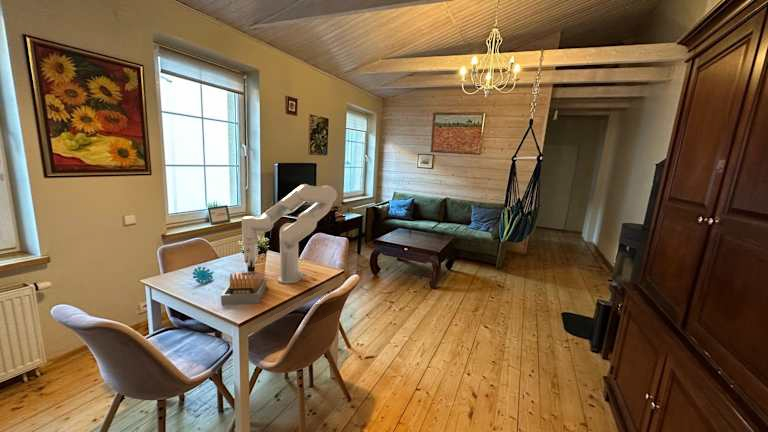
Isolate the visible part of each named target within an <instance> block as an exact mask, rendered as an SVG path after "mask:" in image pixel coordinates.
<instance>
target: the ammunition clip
mask: <svg viewBox="0 0 768 432" xmlns="http://www.w3.org/2000/svg"><path fill="white" fill-rule="evenodd" d="M233 275H234V284H233ZM229 283H230V290H229V294H246V293H255V291H254V281H253V274H252V273H251V276H250V281H249V275H248V273H247V276H246V282H245V275H244V273H243V275H242V282H241V276H240V273H239V275H238V282H237V276H236V274H235V273H234V274H232V273H230V275H229Z"/></svg>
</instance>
